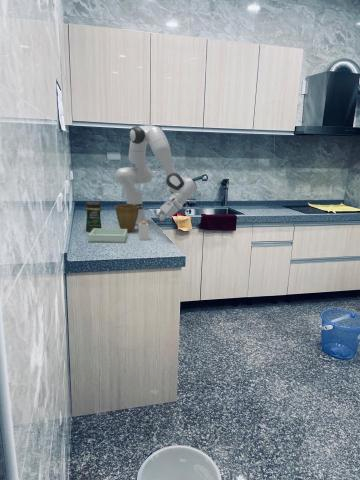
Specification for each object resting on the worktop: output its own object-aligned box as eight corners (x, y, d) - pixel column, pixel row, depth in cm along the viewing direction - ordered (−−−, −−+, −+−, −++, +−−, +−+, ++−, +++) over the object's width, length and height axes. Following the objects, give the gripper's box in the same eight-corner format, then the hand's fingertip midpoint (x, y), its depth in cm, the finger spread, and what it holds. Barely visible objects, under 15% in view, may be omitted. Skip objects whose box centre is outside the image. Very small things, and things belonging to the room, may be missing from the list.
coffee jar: (85, 232, 221) (85, 202, 217) (86, 229, 229) (85, 200, 224) (101, 231, 223) (101, 202, 219) (101, 229, 231) (101, 200, 226)
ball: (141, 225, 208) (141, 220, 207) (146, 225, 208) (146, 220, 207) (140, 226, 205) (140, 221, 204) (146, 226, 206) (146, 221, 205)
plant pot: (140, 233, 223) (140, 207, 219) (115, 233, 220) (115, 207, 216) (137, 228, 237) (138, 204, 233) (115, 228, 234) (115, 204, 230)
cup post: (147, 237, 212) (147, 222, 210) (148, 239, 207) (148, 224, 205) (138, 238, 210) (138, 223, 208) (139, 240, 206) (139, 224, 204)
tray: (93, 234, 214) (93, 228, 213) (127, 235, 216) (127, 229, 215) (88, 242, 197) (88, 235, 196) (124, 242, 198) (124, 235, 197)
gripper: (167, 195, 217) (151, 211, 217) (175, 200, 198) (157, 217, 197) (174, 203, 219) (158, 219, 219) (183, 208, 200) (165, 225, 200)
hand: (158, 218), depth 208 cm, fingers open, 8 cm apart
